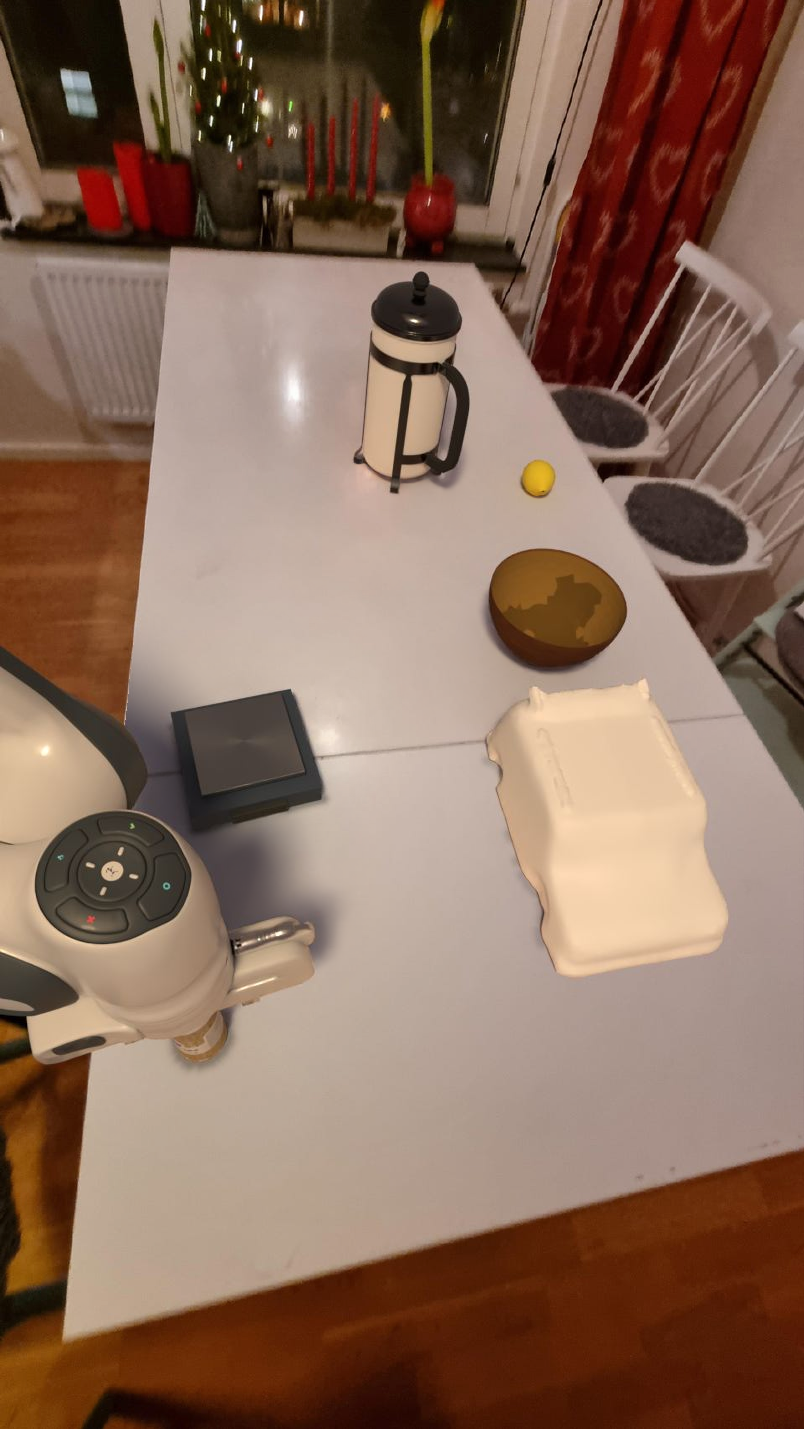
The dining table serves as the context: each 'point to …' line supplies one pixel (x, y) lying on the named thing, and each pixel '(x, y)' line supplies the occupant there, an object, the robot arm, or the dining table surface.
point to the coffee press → (412, 381)
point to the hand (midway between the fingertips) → (193, 1012)
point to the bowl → (555, 607)
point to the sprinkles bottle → (203, 1039)
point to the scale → (250, 799)
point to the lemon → (538, 477)
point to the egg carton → (608, 828)
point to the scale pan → (243, 745)
